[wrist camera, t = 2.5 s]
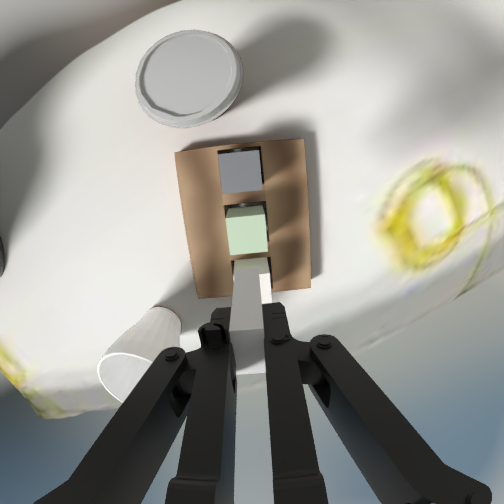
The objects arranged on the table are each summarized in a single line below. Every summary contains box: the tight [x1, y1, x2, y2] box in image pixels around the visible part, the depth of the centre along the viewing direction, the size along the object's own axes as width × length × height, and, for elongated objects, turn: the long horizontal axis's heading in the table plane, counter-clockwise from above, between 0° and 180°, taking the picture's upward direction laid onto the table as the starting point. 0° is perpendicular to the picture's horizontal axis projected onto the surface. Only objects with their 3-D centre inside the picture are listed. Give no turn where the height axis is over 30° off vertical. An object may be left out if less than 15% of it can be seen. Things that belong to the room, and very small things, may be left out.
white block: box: [233, 257, 272, 304], centre depth 34 cm, size 4×4×5 cm
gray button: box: [218, 150, 263, 194], centre depth 29 cm, size 4×4×5 cm
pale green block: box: [225, 205, 268, 255], centre depth 31 cm, size 4×4×5 cm
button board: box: [174, 139, 311, 299], centre depth 34 cm, size 15×19×2 cm
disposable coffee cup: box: [135, 30, 243, 128], centre depth 24 cm, size 10×10×12 cm
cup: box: [97, 307, 181, 403], centre depth 34 cm, size 10×10×14 cm
